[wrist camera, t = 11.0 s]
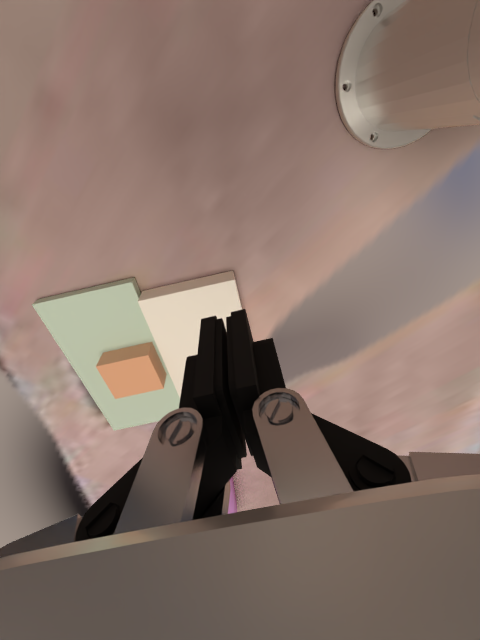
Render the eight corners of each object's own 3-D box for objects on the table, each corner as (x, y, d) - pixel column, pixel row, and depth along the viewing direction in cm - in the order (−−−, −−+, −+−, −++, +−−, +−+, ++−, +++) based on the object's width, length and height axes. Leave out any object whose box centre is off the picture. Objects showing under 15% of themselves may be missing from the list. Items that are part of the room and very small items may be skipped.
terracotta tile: (152, 341, 40) (147, 354, 38) (166, 374, 44) (163, 388, 41) (103, 352, 41) (95, 366, 38) (120, 384, 44) (115, 399, 41)
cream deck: (233, 270, 38) (234, 279, 35) (259, 383, 48) (262, 397, 45) (142, 290, 38) (137, 301, 36) (187, 399, 48) (186, 413, 46)
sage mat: (134, 277, 37) (131, 282, 36) (189, 407, 49) (188, 414, 48) (38, 299, 38) (32, 304, 36) (116, 423, 50) (113, 430, 49)
